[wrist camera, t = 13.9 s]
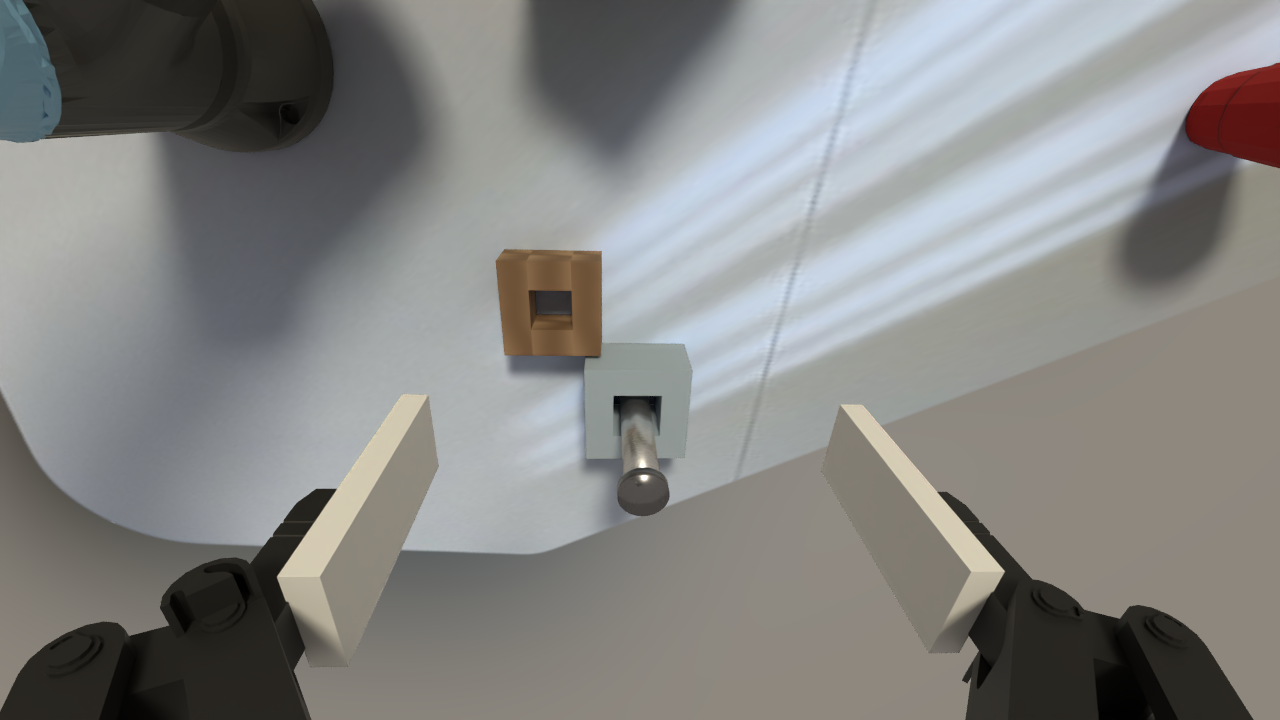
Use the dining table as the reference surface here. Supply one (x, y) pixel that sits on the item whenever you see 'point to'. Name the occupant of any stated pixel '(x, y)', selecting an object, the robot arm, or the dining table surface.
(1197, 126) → the plastic cup
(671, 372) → the socket block
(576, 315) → the mount block
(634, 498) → the lock pin
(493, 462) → the dining table surface
